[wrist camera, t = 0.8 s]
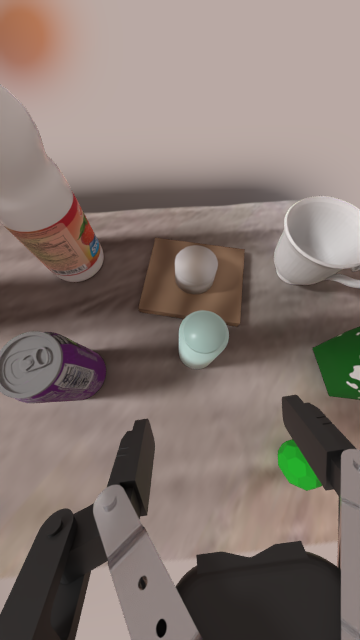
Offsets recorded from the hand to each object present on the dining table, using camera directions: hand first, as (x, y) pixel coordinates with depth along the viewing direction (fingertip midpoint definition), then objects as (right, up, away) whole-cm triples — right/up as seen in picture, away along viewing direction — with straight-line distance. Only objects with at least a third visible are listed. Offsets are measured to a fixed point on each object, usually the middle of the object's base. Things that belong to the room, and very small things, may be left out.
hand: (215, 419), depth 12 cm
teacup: (+19, +13, +24) cm, 33 cm away
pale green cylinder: (0, +1, +19) cm, 19 cm away
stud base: (0, +13, +23) cm, 27 cm away
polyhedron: (+12, -12, +15) cm, 23 cm away
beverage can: (-16, -2, +18) cm, 25 cm away
